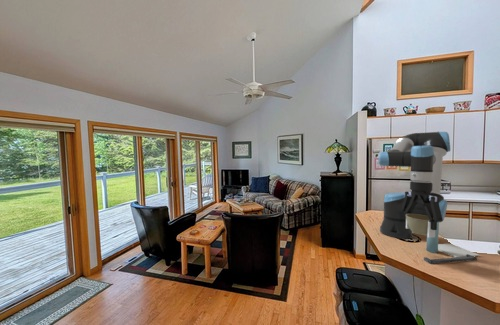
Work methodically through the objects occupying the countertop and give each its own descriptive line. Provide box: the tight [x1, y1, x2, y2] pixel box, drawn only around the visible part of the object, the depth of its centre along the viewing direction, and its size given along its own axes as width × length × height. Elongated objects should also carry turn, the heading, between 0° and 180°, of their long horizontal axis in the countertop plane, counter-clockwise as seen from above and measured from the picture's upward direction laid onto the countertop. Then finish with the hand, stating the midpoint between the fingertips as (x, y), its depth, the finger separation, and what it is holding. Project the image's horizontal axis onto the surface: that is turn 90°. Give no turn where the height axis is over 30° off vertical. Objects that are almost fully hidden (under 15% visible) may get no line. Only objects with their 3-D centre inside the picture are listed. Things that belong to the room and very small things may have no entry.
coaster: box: [438, 243, 480, 258], centre depth 97 cm, size 12×12×1 cm
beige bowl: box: [406, 214, 430, 236], centre depth 91 cm, size 10×10×7 cm
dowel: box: [426, 222, 440, 254], centre depth 97 cm, size 4×4×16 cm
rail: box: [423, 254, 478, 265], centre depth 89 cm, size 3×22×1 cm, turn 97°
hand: (419, 232), depth 91 cm, fingers closed on beige bowl, 10 cm apart
